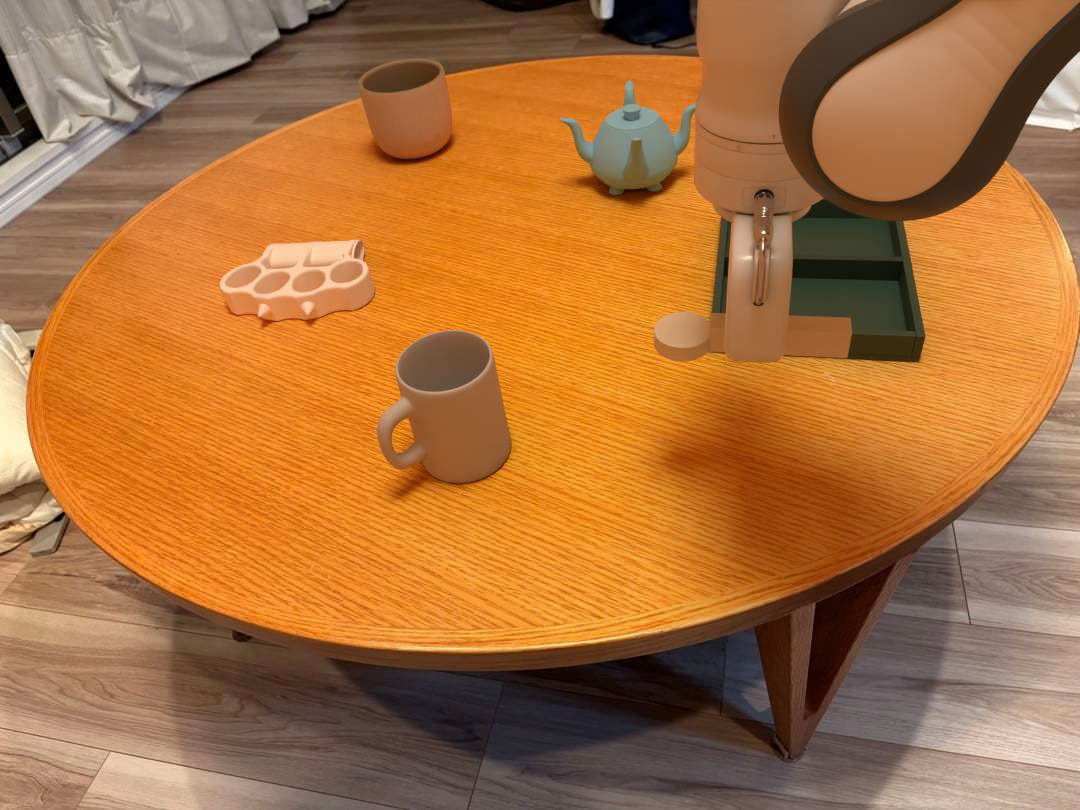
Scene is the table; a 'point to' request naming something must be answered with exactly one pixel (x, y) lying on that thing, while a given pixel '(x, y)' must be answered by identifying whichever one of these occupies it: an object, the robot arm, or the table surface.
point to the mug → (448, 408)
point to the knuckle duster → (300, 281)
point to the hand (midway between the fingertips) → (751, 328)
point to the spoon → (696, 336)
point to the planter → (407, 107)
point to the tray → (848, 280)
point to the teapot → (633, 146)
